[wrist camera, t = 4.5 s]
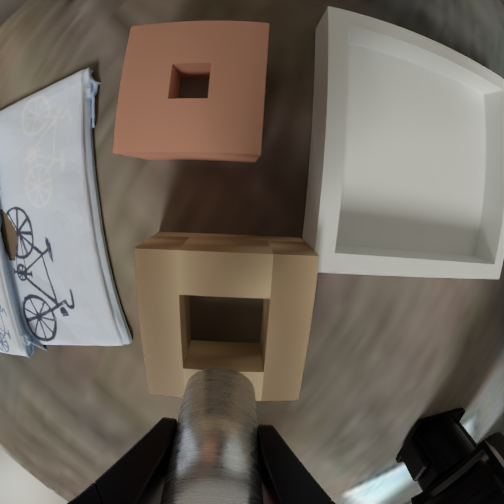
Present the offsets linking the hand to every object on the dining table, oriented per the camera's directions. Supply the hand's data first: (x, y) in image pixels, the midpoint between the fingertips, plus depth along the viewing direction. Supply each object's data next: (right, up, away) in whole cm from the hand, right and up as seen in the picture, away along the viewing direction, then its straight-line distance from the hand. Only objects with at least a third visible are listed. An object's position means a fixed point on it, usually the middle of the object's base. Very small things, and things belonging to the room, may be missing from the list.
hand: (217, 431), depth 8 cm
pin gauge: (0, 0, +2) cm, 2 cm away
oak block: (0, +2, +10) cm, 10 cm away
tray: (+11, +11, +8) cm, 18 cm away
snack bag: (-17, +7, +9) cm, 20 cm away
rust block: (-2, +13, +7) cm, 15 cm away
